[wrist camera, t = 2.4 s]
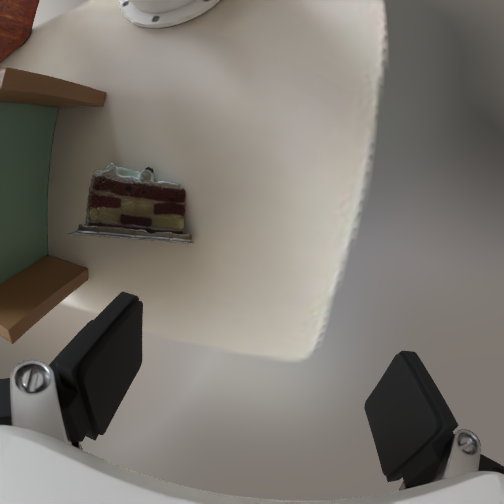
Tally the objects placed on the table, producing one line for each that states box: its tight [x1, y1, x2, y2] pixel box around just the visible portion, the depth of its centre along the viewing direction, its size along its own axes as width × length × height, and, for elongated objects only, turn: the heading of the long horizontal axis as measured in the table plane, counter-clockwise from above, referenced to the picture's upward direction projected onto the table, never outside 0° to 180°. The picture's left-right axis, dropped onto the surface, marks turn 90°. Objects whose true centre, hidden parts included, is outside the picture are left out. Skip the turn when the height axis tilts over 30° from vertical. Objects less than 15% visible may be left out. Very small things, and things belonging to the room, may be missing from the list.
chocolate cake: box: [68, 163, 194, 244], centre depth 25 cm, size 10×7×12 cm
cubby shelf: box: [0, 68, 106, 344], centre depth 18 cm, size 22×9×16 cm, turn 167°
